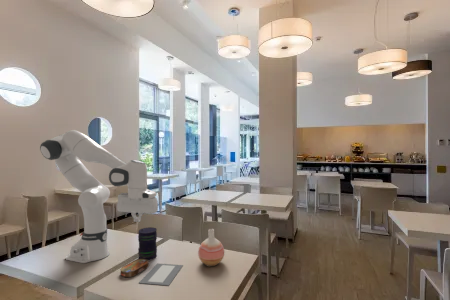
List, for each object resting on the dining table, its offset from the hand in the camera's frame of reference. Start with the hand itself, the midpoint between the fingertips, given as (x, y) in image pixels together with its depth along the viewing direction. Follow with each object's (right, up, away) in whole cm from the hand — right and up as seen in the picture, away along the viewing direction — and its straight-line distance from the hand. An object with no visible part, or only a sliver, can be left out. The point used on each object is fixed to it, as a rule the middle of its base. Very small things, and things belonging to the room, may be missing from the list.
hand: (137, 221), depth 120 cm
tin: (+3, -23, -1) cm, 24 cm away
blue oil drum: (0, -25, +16) cm, 30 cm away
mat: (+13, -24, -3) cm, 28 cm away
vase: (+36, -25, +7) cm, 44 cm away
